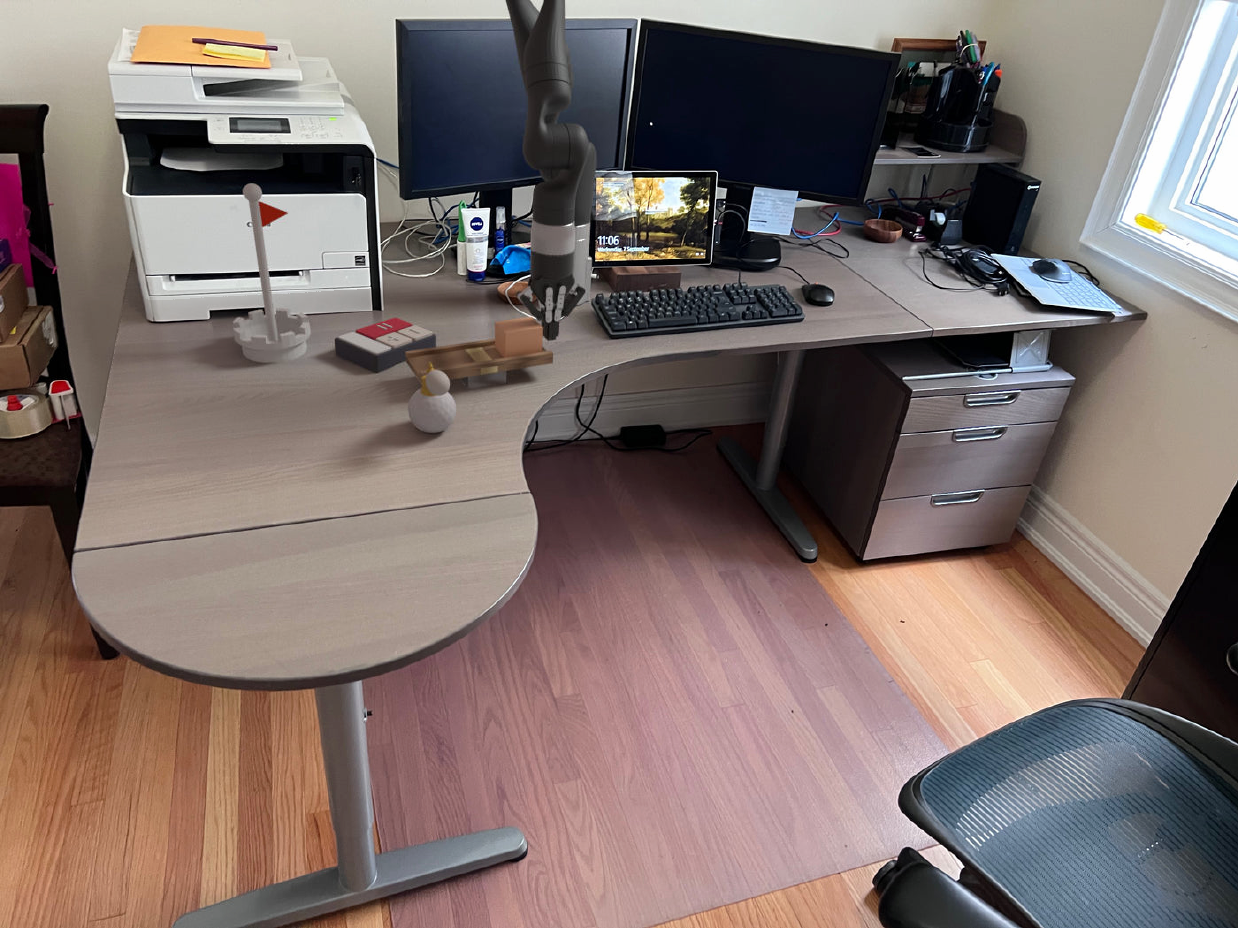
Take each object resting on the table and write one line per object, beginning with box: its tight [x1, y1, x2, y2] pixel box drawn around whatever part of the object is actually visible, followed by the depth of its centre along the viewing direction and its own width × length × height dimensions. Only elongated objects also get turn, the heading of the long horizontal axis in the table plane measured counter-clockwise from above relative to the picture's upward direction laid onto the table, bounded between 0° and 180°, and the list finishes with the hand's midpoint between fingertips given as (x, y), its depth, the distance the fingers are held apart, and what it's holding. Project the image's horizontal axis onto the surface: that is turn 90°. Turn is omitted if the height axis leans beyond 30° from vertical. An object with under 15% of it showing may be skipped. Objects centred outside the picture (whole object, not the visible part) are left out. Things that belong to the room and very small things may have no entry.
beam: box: [405, 338, 554, 390], centre depth 160 cm, size 24×9×5 cm, turn 118°
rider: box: [494, 316, 544, 358], centre depth 160 cm, size 7×5×5 cm
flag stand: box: [232, 182, 312, 364], centre depth 157 cm, size 13×13×30 cm
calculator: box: [334, 317, 437, 374], centre depth 167 cm, size 11×4×15 cm
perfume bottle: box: [407, 362, 457, 434], centre depth 141 cm, size 8×10×12 cm
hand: (549, 338), depth 163 cm, fingers closed
